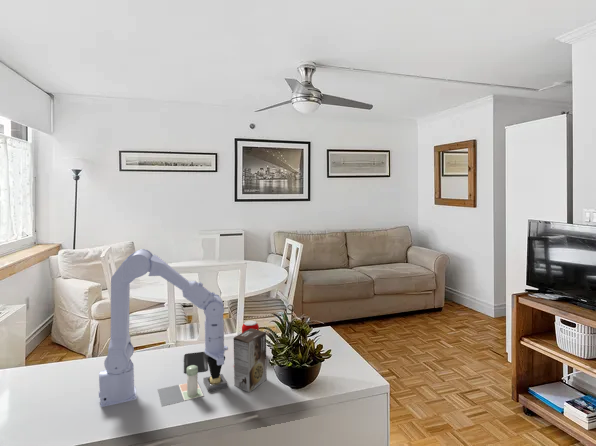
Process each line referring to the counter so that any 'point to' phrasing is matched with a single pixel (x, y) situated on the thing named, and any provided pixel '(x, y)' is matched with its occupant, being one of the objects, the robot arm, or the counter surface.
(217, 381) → the button
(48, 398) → the counter surface
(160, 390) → the picture board
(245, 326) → the beverage can
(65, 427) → the counter surface
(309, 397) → the counter surface
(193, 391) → the marker
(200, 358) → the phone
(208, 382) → the button collar
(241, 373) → the coffee box
